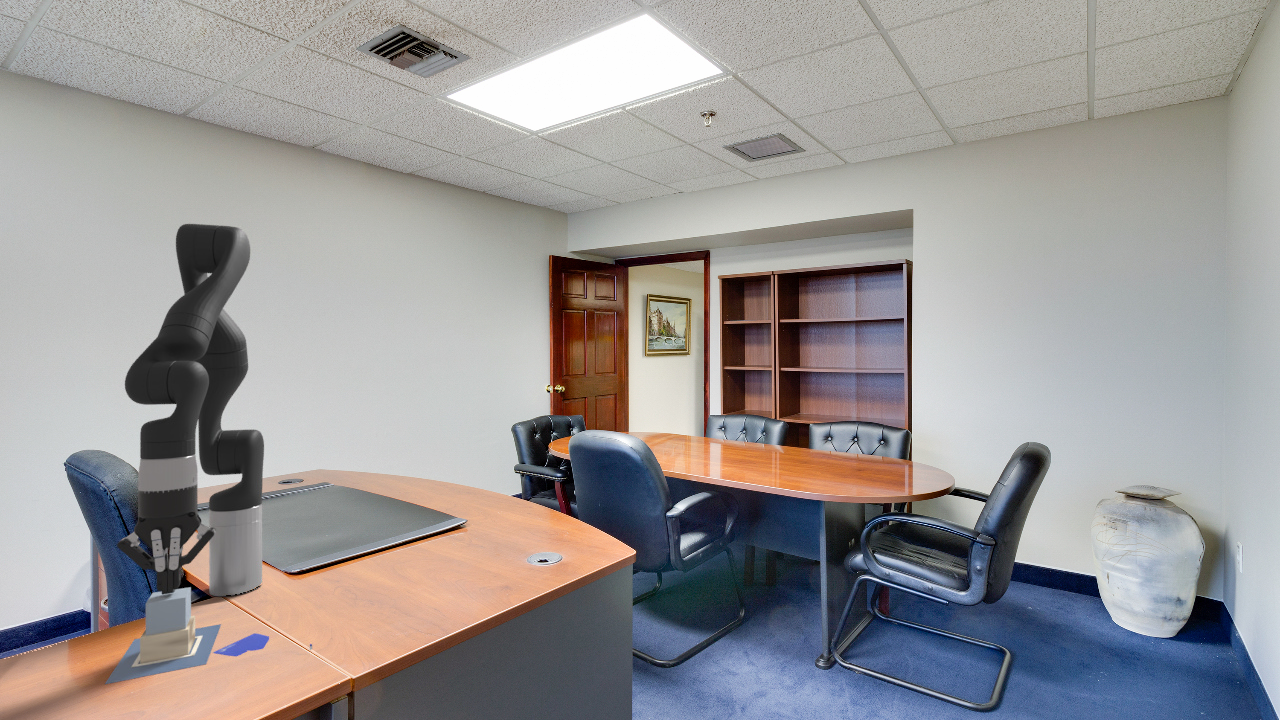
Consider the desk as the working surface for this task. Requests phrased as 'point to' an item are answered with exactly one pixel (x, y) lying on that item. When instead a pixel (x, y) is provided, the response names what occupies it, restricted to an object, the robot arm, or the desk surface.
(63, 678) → the desk surface
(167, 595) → the slate block
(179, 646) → the maple base block
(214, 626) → the board
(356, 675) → the desk surface
